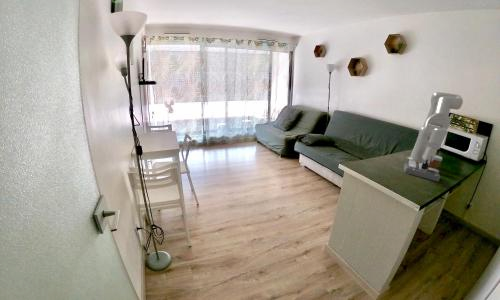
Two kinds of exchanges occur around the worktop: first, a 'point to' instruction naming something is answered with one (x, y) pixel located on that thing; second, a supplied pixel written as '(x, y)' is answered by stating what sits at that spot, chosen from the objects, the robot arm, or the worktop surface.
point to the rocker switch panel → (422, 173)
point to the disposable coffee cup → (435, 162)
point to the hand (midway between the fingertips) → (423, 168)
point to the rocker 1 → (412, 164)
